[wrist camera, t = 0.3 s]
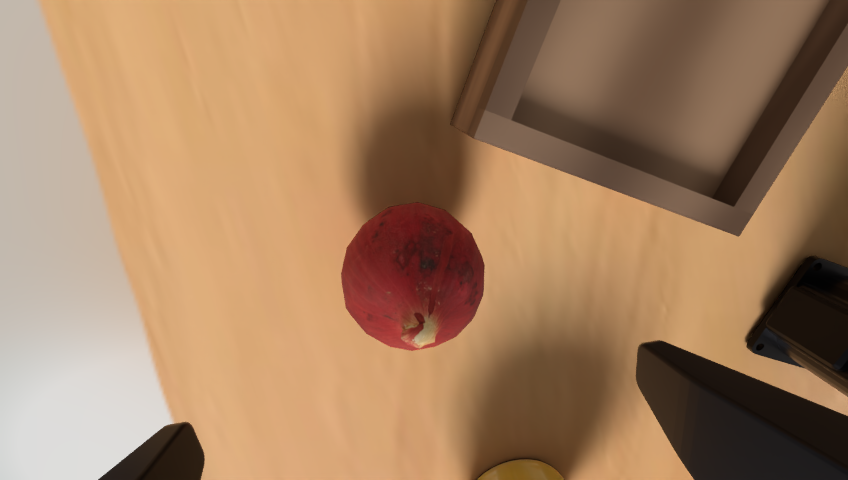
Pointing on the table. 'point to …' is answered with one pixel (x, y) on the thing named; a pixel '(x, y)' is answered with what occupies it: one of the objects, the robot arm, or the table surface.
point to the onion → (413, 277)
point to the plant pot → (522, 471)
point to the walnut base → (658, 93)
